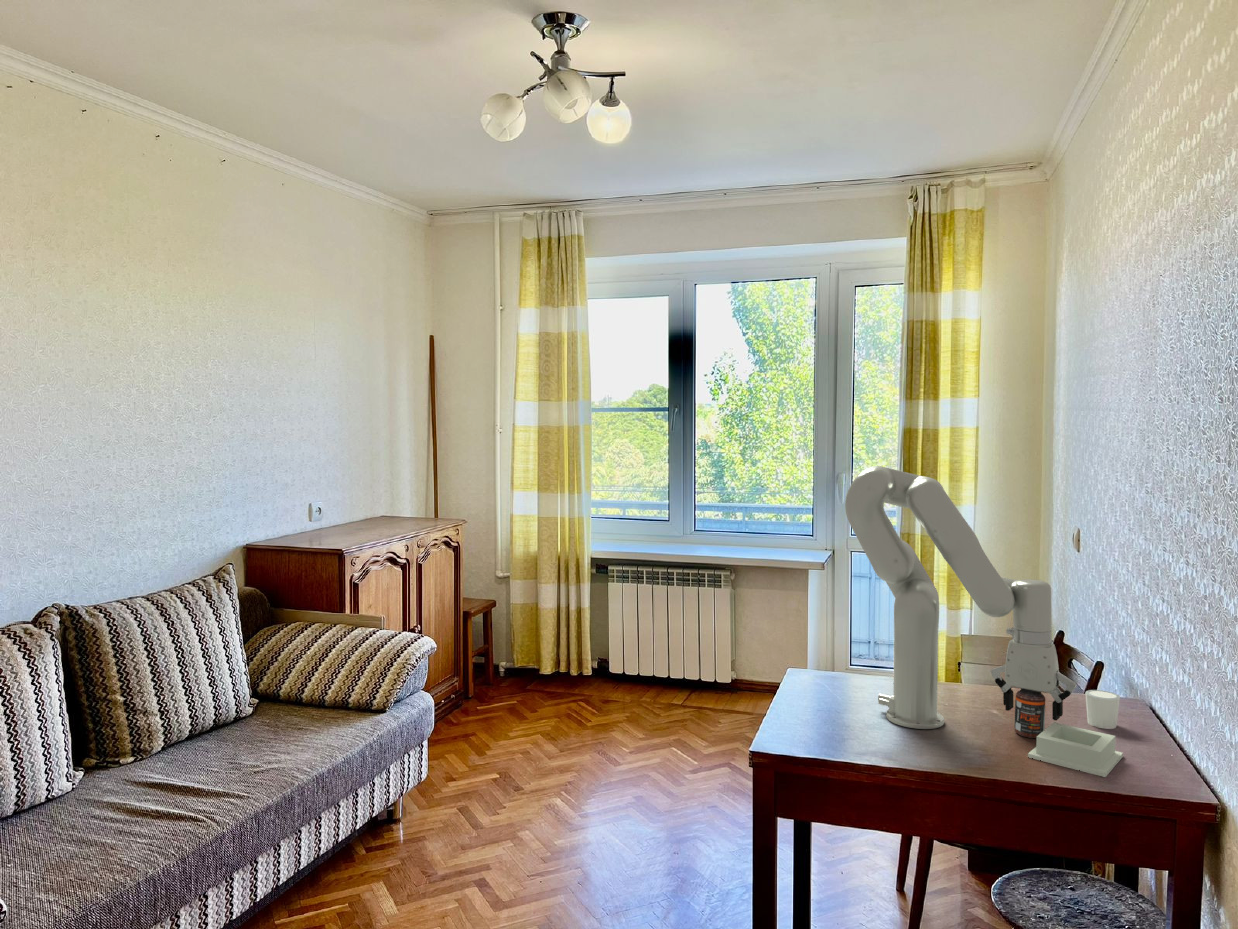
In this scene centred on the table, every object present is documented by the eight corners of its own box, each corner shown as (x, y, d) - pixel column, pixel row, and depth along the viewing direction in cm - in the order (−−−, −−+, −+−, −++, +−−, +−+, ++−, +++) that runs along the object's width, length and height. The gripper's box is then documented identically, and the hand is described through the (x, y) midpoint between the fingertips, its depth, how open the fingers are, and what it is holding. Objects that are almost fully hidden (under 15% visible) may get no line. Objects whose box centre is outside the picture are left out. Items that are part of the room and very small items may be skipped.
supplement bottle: (1017, 738, 178) (1018, 686, 178) (1011, 728, 184) (1012, 678, 183) (1047, 740, 177) (1049, 688, 176) (1040, 730, 183) (1041, 680, 182)
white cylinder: (1112, 732, 182) (1113, 701, 181) (1079, 723, 187) (1080, 693, 187) (1124, 725, 186) (1125, 694, 186) (1091, 717, 191) (1092, 687, 191)
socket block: (1027, 757, 167) (1028, 736, 167) (1049, 738, 178) (1049, 719, 177) (1105, 777, 158) (1105, 755, 158) (1123, 756, 168) (1123, 736, 168)
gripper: (985, 634, 183) (985, 709, 183) (1070, 646, 171) (1071, 727, 171) (997, 628, 188) (997, 701, 189) (1080, 639, 176) (1081, 718, 177)
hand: (1032, 713), depth 180 cm, fingers open, 9 cm apart
